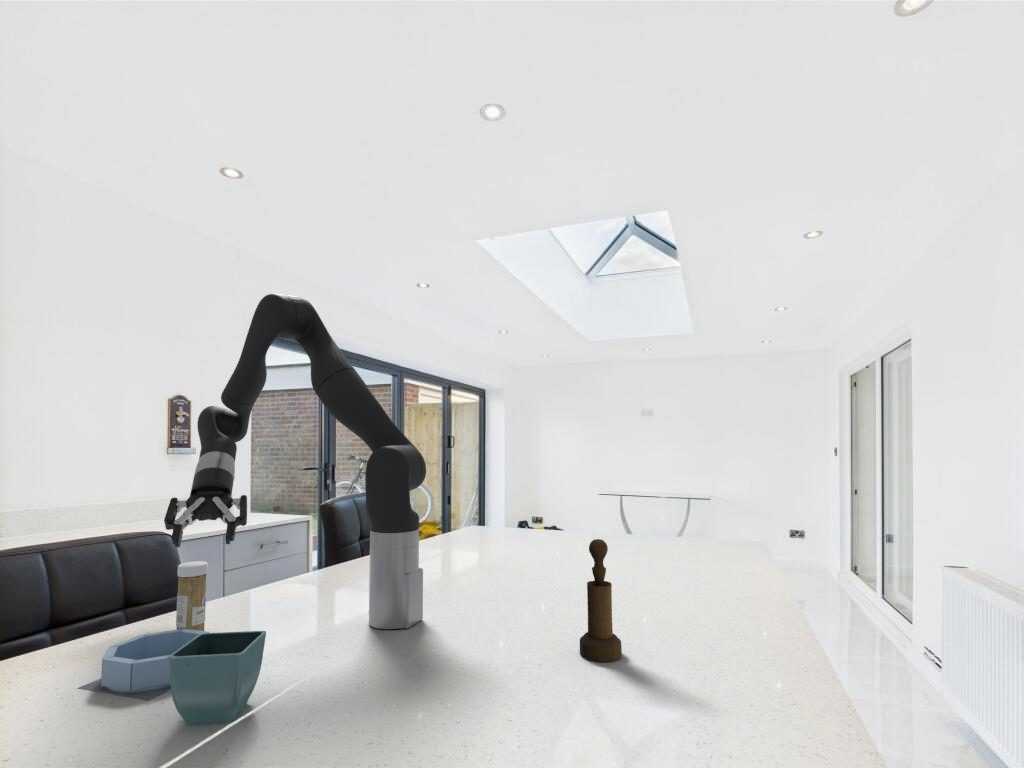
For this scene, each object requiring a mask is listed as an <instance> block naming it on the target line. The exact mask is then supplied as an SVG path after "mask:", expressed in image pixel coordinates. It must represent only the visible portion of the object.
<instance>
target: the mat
mask: <svg viewBox="0 0 1024 768" xmlns="http://www.w3.org/2000/svg"><path fill="white" fill-rule="evenodd" d="M77 689H80V690H86V691H91V692H95V693H96V692H97V693H100V694H101V693H103V694H106V695H107V694H109V695H113V696H119V697H124V698H131V699H137V700H142V701H151V700H153V699H155V698H157V697H160V696H161V695H164V694H165V693H167V692H170V691H171V687H169V688H165V689H161V690H155V691H150V692H142V693H116V692H112V691H109V690H107V689H106V688H105V687H104V686H101V678H99V679H95V680H94V681H90V682H89V683H87V684H84V685H81V686H79V687H77Z"/></svg>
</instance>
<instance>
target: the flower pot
mask: <svg viewBox="0 0 1024 768" xmlns="http://www.w3.org/2000/svg"><path fill="white" fill-rule="evenodd" d="M266 635H267V631H266V630H251V631H250V630H249V631H248V630H247V631H225V632H210V633H202V634H199V635H197V636H196V637H194V638H193V639H192V640H190V641H189V642H188V643H186V644H185V645H183V646H182V647H181V648H179V649H178V650H176V651H175V652H173V653H172V654H171V655H170V656H169V657H168V660H169V671H170V682H171V690H170V691H171V697H172V702H173V704H174V707H175V709H176V711H177V713H178V714H179V716H180V717H181V718H182V719H183V722H185V723H186V724H187V725H189V726H190V725H205V724H206V725H207V724H227V723H231V722H232V721H234V720H235V718H236V717H237V715H238V714H239V713H240V712H241V711H242V710H243V709H244V707H246V705H247V703H248V701H249V699H250V697H251V696H252V694H253V692H254V690H255V688H256V685H257V682H258V679H259V676H260V673H261V667H262V664H263V663H262V662H263V657H264V651H265V644H266V643H265V642H266Z"/></svg>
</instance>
